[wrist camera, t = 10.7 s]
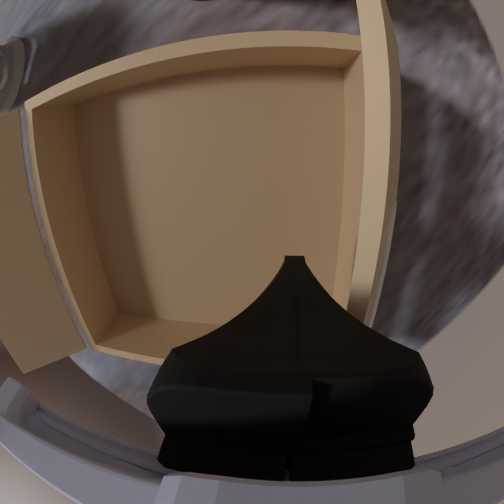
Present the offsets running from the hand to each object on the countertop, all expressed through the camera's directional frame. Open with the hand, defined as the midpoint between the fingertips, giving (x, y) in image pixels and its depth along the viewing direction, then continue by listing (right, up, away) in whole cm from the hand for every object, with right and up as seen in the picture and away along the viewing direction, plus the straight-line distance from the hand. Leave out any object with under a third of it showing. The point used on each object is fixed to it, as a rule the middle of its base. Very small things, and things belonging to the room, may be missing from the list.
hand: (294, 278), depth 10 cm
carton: (-5, +4, +8) cm, 10 cm away
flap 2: (+3, 0, -1) cm, 3 cm away
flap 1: (-19, 0, +3) cm, 19 cm away
